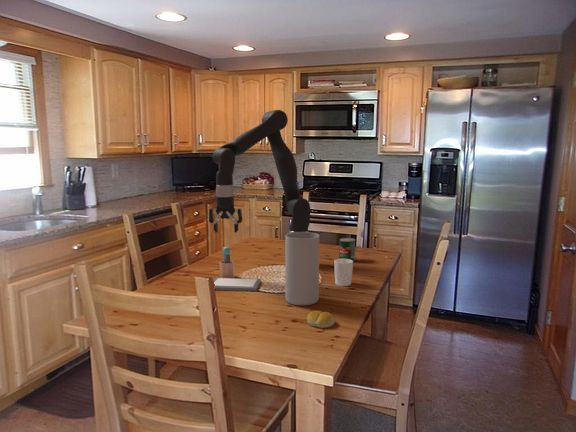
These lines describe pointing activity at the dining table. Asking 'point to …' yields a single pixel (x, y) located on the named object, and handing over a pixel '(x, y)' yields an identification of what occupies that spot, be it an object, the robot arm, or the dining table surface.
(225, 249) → the marker
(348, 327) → the dining table surface
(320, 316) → the bread roll
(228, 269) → the pen cup
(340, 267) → the white cup
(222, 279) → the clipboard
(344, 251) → the canned tomato
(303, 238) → the cylinder vase
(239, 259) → the dining table surface
